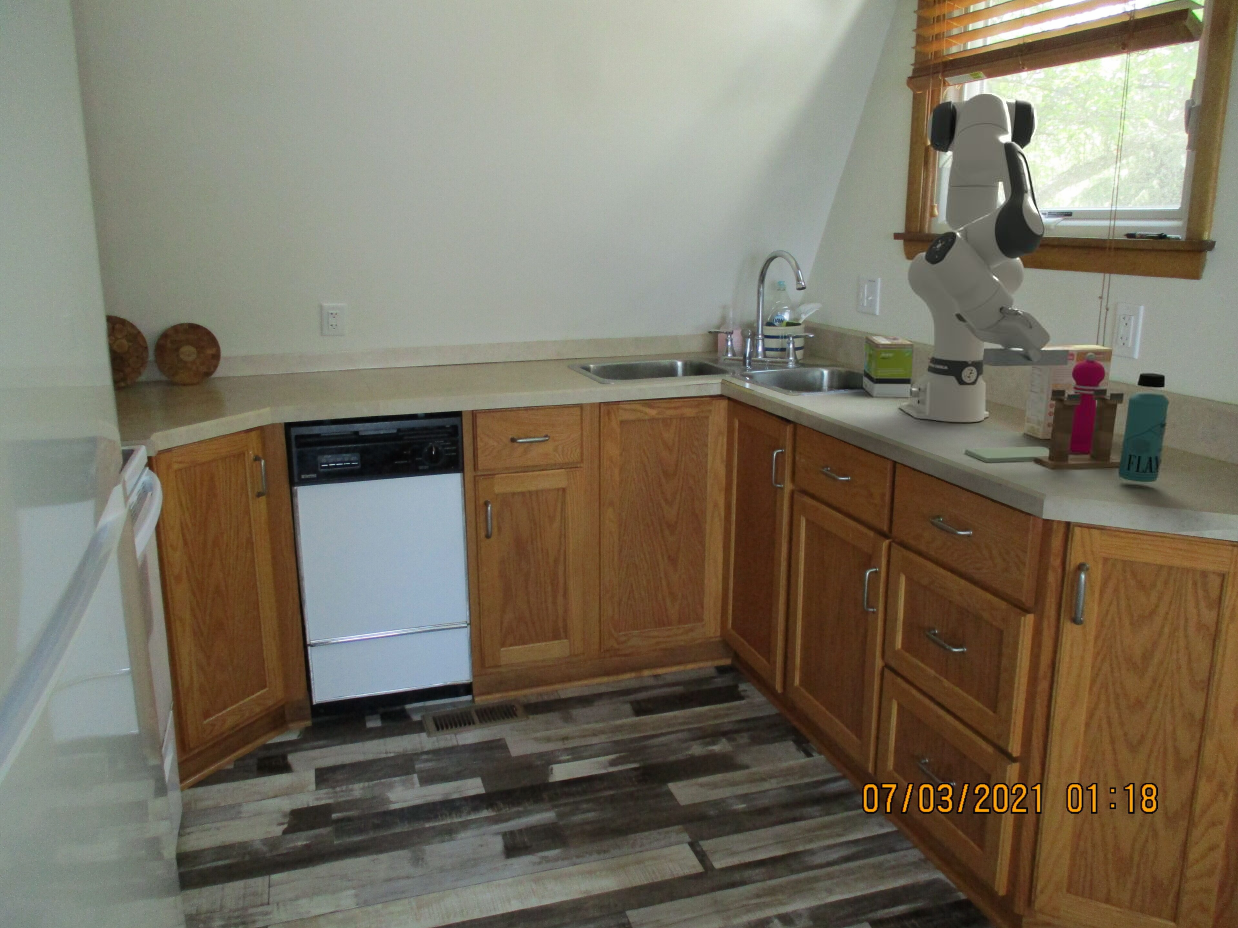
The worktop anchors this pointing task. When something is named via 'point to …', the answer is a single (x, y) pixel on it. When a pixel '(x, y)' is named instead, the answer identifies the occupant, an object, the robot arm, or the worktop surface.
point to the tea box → (888, 366)
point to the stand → (1064, 430)
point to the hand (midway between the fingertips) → (1028, 357)
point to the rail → (1024, 357)
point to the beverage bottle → (1144, 431)
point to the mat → (1008, 454)
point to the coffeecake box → (1057, 386)
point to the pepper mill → (1085, 403)
